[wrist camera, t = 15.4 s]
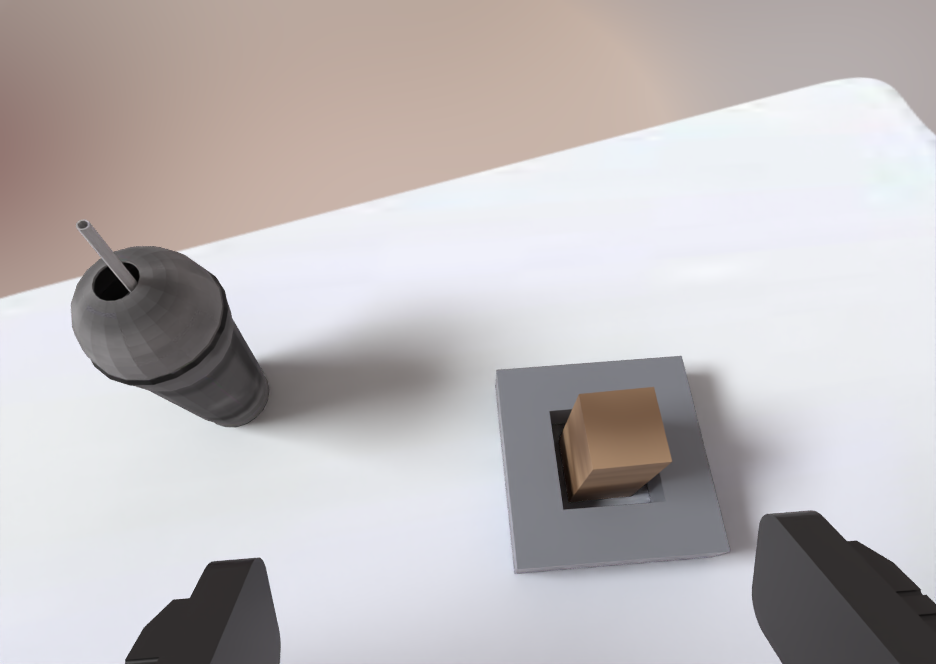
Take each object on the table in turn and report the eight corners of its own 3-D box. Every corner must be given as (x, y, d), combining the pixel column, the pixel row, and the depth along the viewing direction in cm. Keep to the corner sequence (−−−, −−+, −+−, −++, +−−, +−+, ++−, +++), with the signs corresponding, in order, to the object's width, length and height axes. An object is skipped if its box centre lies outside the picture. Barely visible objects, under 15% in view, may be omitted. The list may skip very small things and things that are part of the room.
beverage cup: (203, 340, 44) (10, 140, 26) (301, 354, 43) (175, 159, 25) (166, 439, 40) (-83, 289, 22) (271, 454, 40) (103, 314, 22)
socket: (711, 557, 37) (730, 551, 34) (514, 573, 37) (517, 569, 34) (668, 373, 42) (681, 355, 39) (495, 386, 42) (496, 370, 39)
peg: (631, 496, 38) (672, 461, 30) (568, 502, 38) (593, 469, 30) (618, 434, 40) (654, 386, 32) (558, 440, 40) (578, 393, 32)
